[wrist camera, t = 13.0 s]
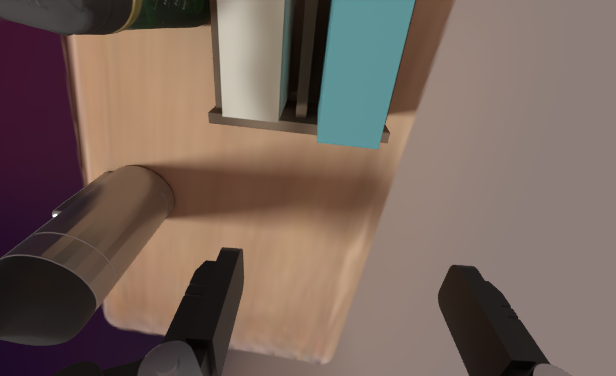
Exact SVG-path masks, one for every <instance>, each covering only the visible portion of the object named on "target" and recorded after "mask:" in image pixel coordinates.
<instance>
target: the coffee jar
mask: <svg viewBox="0 0 616 376" xmlns="http://www.w3.org/2000/svg"><path fill="white" fill-rule="evenodd" d="M0 17H1V18H3V19H5V20H9V21H14V22H18V23H21V24H25V25H29V26H32V27H36V28H41V29H45V30H48V31H51V32H55V33H59V34H62V35H66V36H69V35H73V34H75V35H87V34H88V35H106V34H113V33H117V32H120V31H123V30H136V29H156V28H191V27H198V26H201V25H203V24H204V23H205V22H206V21H207V20H208V19H209V17H210V0H0Z"/></svg>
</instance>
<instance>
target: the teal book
mask: <svg viewBox="0 0 616 376" xmlns="http://www.w3.org/2000/svg"><path fill="white" fill-rule="evenodd" d="M414 3H415V0H330V3H329V11H328V20H327V28H326V36H325V45H324V53H323V61H322V70H321V78H320V87H319V95H318V124H317V143H326V144H335V145H344V146H353V147H362V148H371V149H379V145H380V141H381V136H382V132H383V128H384V124H385V120H386V116H387V112H388V108H389V104H390V100H391V96H392V92H393V88H394V84H395V80H396V76H397V72H398V68H399V64H400V60H401V56H402V52H403V48H404V43H405V39H406V35H407V31H408V27H409V23H410V19H411V15H412V11H413V7H414Z"/></svg>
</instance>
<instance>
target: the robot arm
mask: <svg viewBox="0 0 616 376" xmlns="http://www.w3.org/2000/svg"><path fill="white" fill-rule="evenodd" d="M173 205H174V196H173V193H172V191H171V189H170V187H169V185H168V184H167V183H166V182H165V180H163V179H162V178H161V177H160V176H159V175H157V174H156V173H154V172H153V171H151V170H148V169H146V168H143V167H139V166H124V167H121V168H119V169H117V170H116V171H114V172H105V173H104V174H102V175H101V176H99V177H98V178H97V179H95V180H94V181H93V182H91V183H90V184H89V185H87V186H86V187H85V188H83V189H82V190H81V191H79V192H78V193H76V194H75V195H74V196H72V197H71V198H70V199H68V200H67V201H66V202H64V203H63V204H62V205H60V206H59V207H58V208H56V209H55V210H54V211H53V213H52V215H53V219H51V220H50V221H49V222H47V223H46V224H45V225H44V226H42V227H41V228H40V229H38V230H37V231H36V232H34V233H33V234H32V235H30V236H29V237H28V238H27V239H25V240H24V241H23V242H22V243H20V244H19V245H18V246H16V247H15V248H14V249H13V250H11V251H10V252H9V253H7V254H6V255H5V256H3V257H2V258H1V259H0V339H1V340H6V341H11V342H16V343H22V344H28V345H54V344H59V343H63V342H66V341H68V340H70V339H71V338H73V337H74V336H75V335H77V334H78V333H79V332H80V330H81V329H82V328H83V327H84V326H85V324H86V323H87V321H88V320H89V319H90V318H91V316H92V315H93V314H94V312H95V310H96V309H97V308H98V307H99V306H100V304H101V303H102V302H103V300H104V299H105V298H106V296H107V295H108V294H109V292H110V291H111V290H112V288H113V287H114V286H115V284H116V283H117V282H118V280H119V279H120V278H121V276H122V275H123V274H124V273H125V271H126V270H127V269H128V267H129V266H130V265H131V263H132V262H133V261H134V259H135V258H136V257H137V255H138V254H139V253H140V251H141V250H142V249H143V248H144V246H145V245H146V244H147V242H148V241H149V240H150V238H151V237H152V236H153V234H154V233H155V232H156V230H157V229H158V228H159V226H160V225H161V224H162V223H163V221H164V220H165V219H166V217H167V216H168V215H169V213H170V212H171V210H172V208H173ZM243 284H244V265H243V250H242V249H238V248H224V247H223V248H221V250H220V253H219V255H218V258H217V260H216V261H205V262H204V263H203V264H202V265H201V266H200V267H199V268H198V269H197V270H196V271H195V273H194V275H193V277H192V279H191V281H190V285H189V286H188V288H187V290H186V292H185V296H183V299H182V301H181V303H180V305H179V307H178V309H177V312H176V314H175V316H174V318H173V320H172V322H171V325H170V327H169V329H168V331H167V333H166V335H165V337H164V339H163V341H162V342H161V343H160V345H159V346H157V347H155V348H154V349H153V350H151V351H150V352H149V353H148V354H147V355H146V357H144V358H142V359H140V360H137V361H135V362H132V363H128V364H124V365H120V366H116V367H113V368H109V369H105V370H101V368H100V367H99V366H98V365H97V364H95V363H92V362H87V361H85V362H78V363H74V364H71V365H69V366H67V367H65V368H63V369H61V370H60V371H58V372H57V373H55V374H54V375H53V376H221V373H222V370H223V366H224V361H225V358H226V354H227V350H228V346H229V342H230V338H231V334H232V331H233V327H234V323H235V319H236V315H237V311H238V307H239V303H240V299H241V295H242V291H243ZM438 302H439V306H440V309H441V312H442V314H443V316H444V319H445V321H446V323H447V326H448V328H449V330H450V332H451V335H452V337H453V339H454V342H455V344H456V346H457V348H458V351H459V353H460V355H461V358H462V360H463V362H464V365H465V367H466V369H467V372H468V374H469V376H572V375H570V374H569V373H567V372H566V371H564V370H563V369H561V368H558V367H556V366H554V365H551V364H550V363H549V362H548V360H547V359H546V357H545V356H544V354H543V353H542V351H541V350H540V348H539V347H538V345H537V344H536V343H535V341H534V339H533V338H532V337H531V335H530V334H529V332H528V331H527V329H526V328H525V326H524V325H523V323H522V322H521V321H520V320H519V319H518V316H517V315H516V313H515V312H514V310H513V309H511V306H510V304H509V303H508V301H507V300H506V299H505V297H504V295H503V294H502V293H501V292H500V291H499V290H498V289H497V288H496V287H495V286H493V285H492V284H491V283H490V282H489V281H485V280H484V279H483V277H482V276H481V274H480V273H479V271H478V270H477V269H476V268H475V267H474V266H463V265H452V266H451V267H450V268H449V271H448V273H447V275H446V277H445V279H444V281H443V283H442V286H441V288H440V290H439V293H438Z"/></svg>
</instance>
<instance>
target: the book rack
mask: <svg viewBox="0 0 616 376" xmlns="http://www.w3.org/2000/svg"><path fill="white" fill-rule="evenodd" d="M329 3H330V0H210V15H211V32H212V49H213V65H214V82H215V99H216V106H215V107H214V108H213V109H212V110H211V111H210V112H208V114H209V123H213V124H222V125H231V126H240V127H249V128H258V129H267V130H276V131H284V132H293V133H302V134H311V135H317V124H318V95H319V87H320V78H321V70H322V61H323V53H324V45H325V36H326V28H327V20H328V11H329ZM415 3H416V0H415ZM415 3H414V7H415ZM414 7H413V11H414ZM413 11H412V15H413ZM412 15H411V19H412ZM411 19H410V23H411ZM410 23H409V27H410ZM409 27H408V31H409ZM408 31H407V35H408ZM407 35H406V39H407ZM406 39H405V43H406ZM405 43H404V47H405ZM403 51H404V48H403ZM402 55H403V52H402ZM401 59H402V56H401ZM400 63H401V60H400ZM399 67H400V64H399ZM398 71H399V68H398ZM397 75H398V72H397ZM396 79H397V76H396ZM395 83H396V80H395ZM394 87H395V84H394ZM393 91H394V88H393ZM392 95H393V92H392ZM391 99H392V96H391ZM390 103H391V100H390ZM389 107H390V104H389ZM388 111H389V108H388ZM387 115H388V112H387ZM386 119H387V116H386ZM385 123H386V120H385ZM389 135H390V132H389V130H388V129H387V127H386V125H385V124H384V128H383V132H382V136H381V141H380V142H382V143H388V139H389Z"/></svg>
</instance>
